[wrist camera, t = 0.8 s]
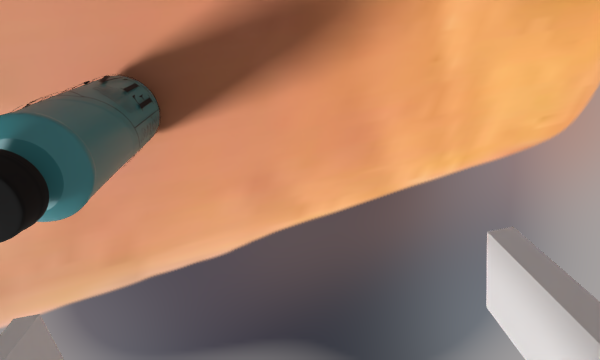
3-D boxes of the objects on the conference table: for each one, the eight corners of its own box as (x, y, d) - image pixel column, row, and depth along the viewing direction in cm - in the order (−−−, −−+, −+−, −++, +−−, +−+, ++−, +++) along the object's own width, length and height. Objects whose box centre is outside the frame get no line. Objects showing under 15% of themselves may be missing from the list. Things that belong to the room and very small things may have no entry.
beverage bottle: (178, 92, 35) (74, 174, 17) (151, 156, 37) (32, 291, 19) (104, 56, 34) (-98, 103, 15) (81, 125, 36) (-124, 239, 17)
